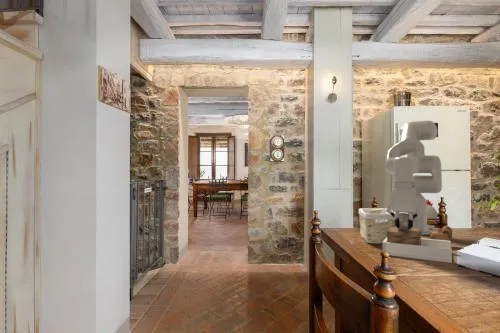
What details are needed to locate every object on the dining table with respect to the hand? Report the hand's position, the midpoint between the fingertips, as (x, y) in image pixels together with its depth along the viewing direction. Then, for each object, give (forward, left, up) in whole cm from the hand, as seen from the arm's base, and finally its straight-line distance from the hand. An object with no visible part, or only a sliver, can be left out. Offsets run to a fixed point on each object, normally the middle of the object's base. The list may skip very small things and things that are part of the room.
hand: (404, 228), depth 136 cm
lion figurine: (-22, -3, -11) cm, 24 cm away
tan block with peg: (0, 0, -9) cm, 9 cm away
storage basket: (-5, -24, -11) cm, 27 cm away
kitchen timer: (-64, -56, -11) cm, 86 cm away
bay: (-4, +4, -10) cm, 11 cm away
